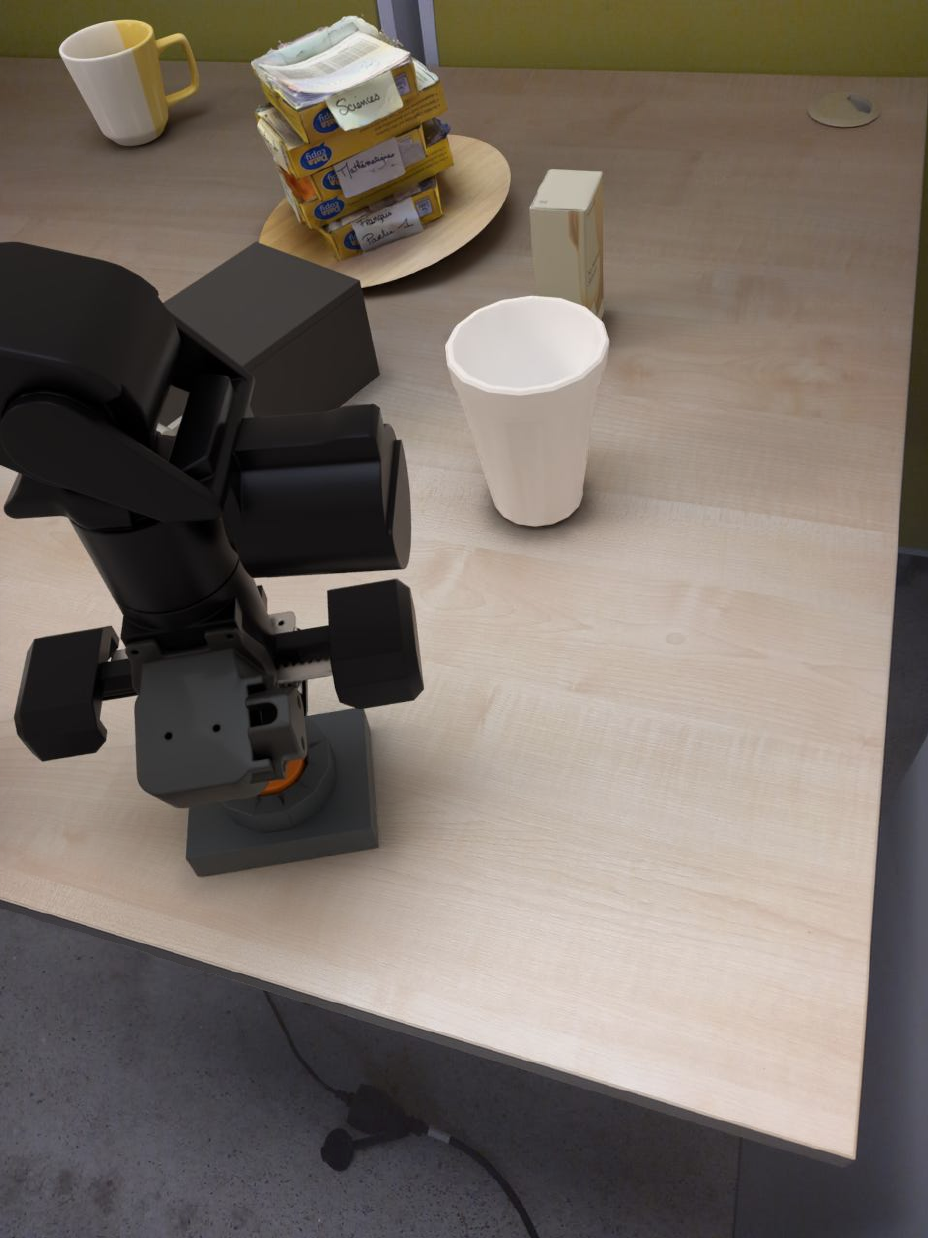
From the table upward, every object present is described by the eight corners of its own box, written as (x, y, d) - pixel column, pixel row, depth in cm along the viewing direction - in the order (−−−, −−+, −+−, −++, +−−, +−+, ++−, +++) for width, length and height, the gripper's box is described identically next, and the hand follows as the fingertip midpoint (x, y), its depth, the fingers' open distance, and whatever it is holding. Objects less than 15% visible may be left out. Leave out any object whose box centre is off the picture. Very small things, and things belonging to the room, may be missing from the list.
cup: (451, 473, 75) (426, 318, 65) (580, 437, 76) (575, 279, 66) (491, 567, 68) (469, 410, 58) (632, 526, 69) (635, 365, 59)
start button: (244, 811, 55) (235, 794, 54) (246, 755, 58) (237, 738, 56) (310, 800, 55) (302, 783, 54) (308, 745, 58) (301, 727, 56)
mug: (97, 164, 114) (58, 65, 106) (93, 127, 121) (57, 32, 113) (217, 135, 116) (188, 36, 108) (207, 100, 122) (178, 4, 114)
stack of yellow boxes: (262, 320, 90) (205, 130, 78) (256, 188, 106) (207, 12, 94) (536, 269, 91) (523, 72, 78) (488, 145, 107) (472, -35, 94)
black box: (260, 469, 77) (228, 376, 71) (163, 418, 83) (125, 327, 76) (380, 374, 83) (360, 279, 77) (282, 332, 89) (255, 240, 82)
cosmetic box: (589, 356, 82) (586, 212, 72) (536, 352, 83) (526, 209, 74) (606, 310, 85) (605, 167, 76) (555, 306, 87) (548, 165, 77)
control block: (198, 877, 56) (174, 842, 53) (204, 754, 61) (183, 716, 58) (378, 848, 56) (365, 811, 53) (370, 727, 61) (357, 687, 58)
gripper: (-87, 758, 38) (79, 929, 50) (406, 676, 38) (456, 868, 50) (-29, 547, 45) (104, 741, 57) (386, 478, 45) (433, 686, 57)
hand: (268, 760), depth 55 cm, fingers closed, pressing on start button
